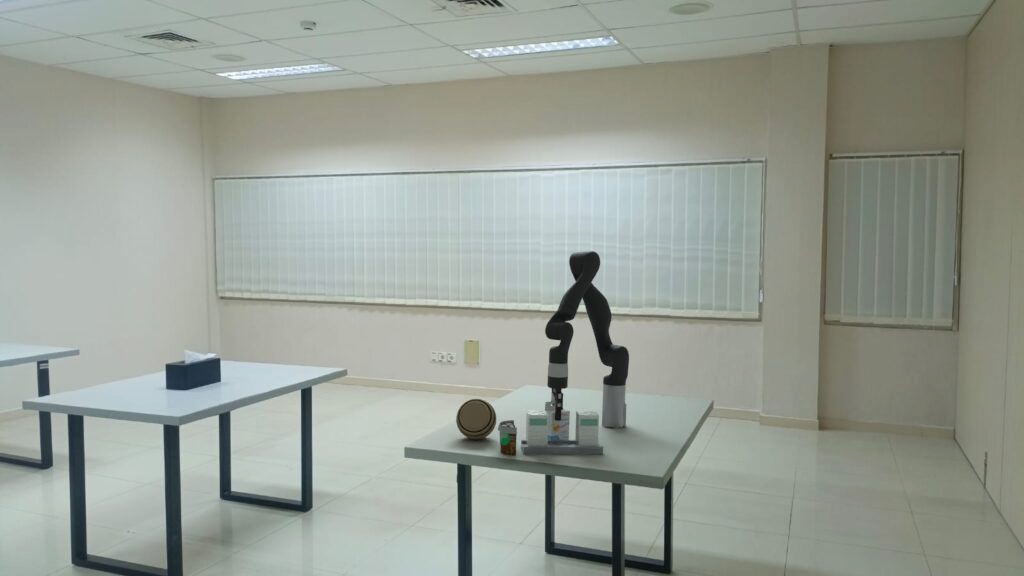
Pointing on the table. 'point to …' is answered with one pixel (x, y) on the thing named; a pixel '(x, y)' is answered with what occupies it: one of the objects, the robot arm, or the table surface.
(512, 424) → the food container
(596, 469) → the table surface
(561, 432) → the ink box
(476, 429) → the mechanical component
